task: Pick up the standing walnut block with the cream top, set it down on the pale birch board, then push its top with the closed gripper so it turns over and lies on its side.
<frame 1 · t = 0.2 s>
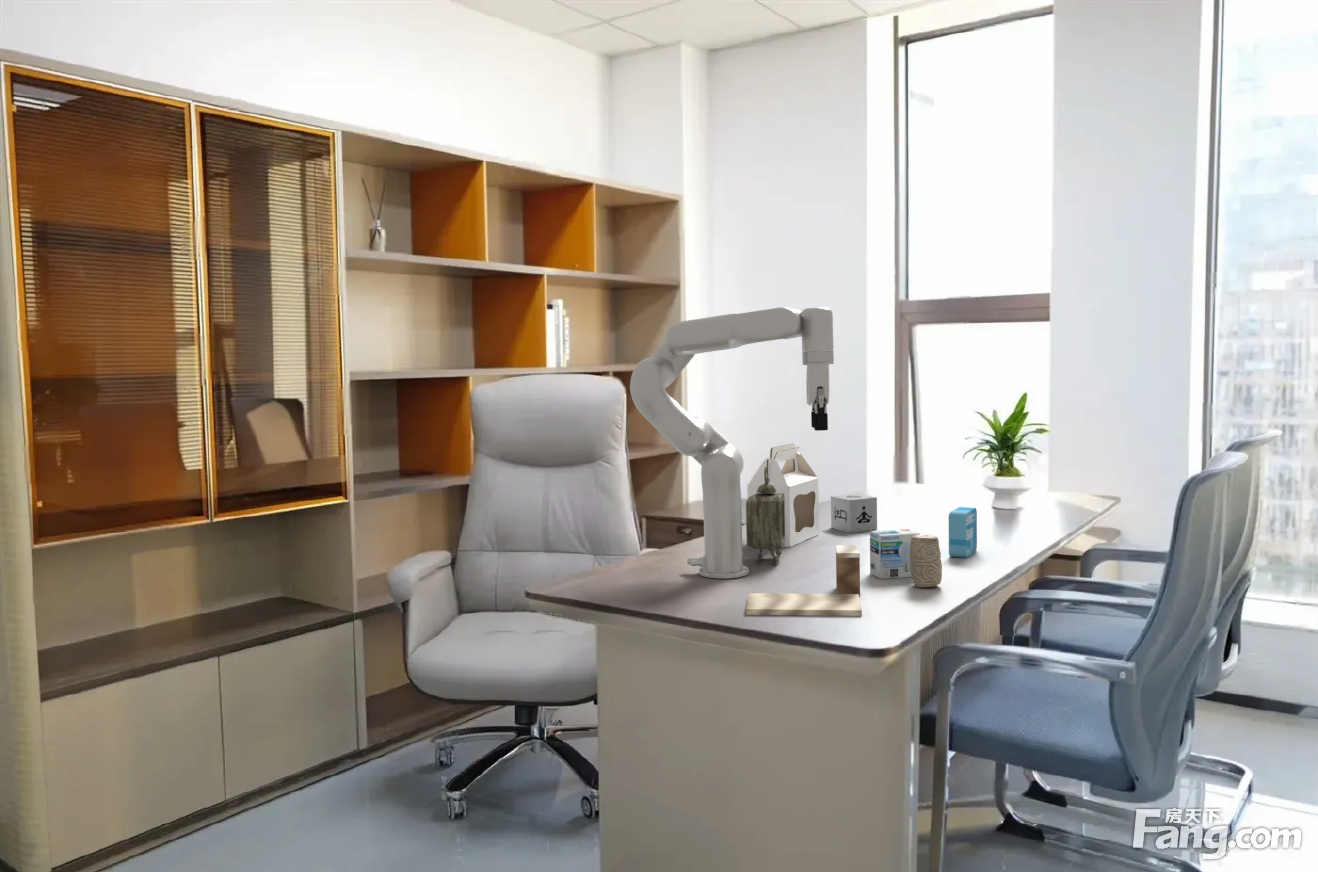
hand: (819, 428, 242), 36 cm above the table, tool pointing down, fingers open, 9 cm apart
light bulb box: (894, 576, 242), on the table
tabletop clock: (766, 560, 264), on the table
data package: (963, 554, 265), on the table
carving: (925, 587, 230), on the table
icon cube: (854, 529, 308), on the table
birch board: (803, 606, 214), on the table
gable box: (784, 540, 293), on the table
walnut block: (848, 592, 227), on the table
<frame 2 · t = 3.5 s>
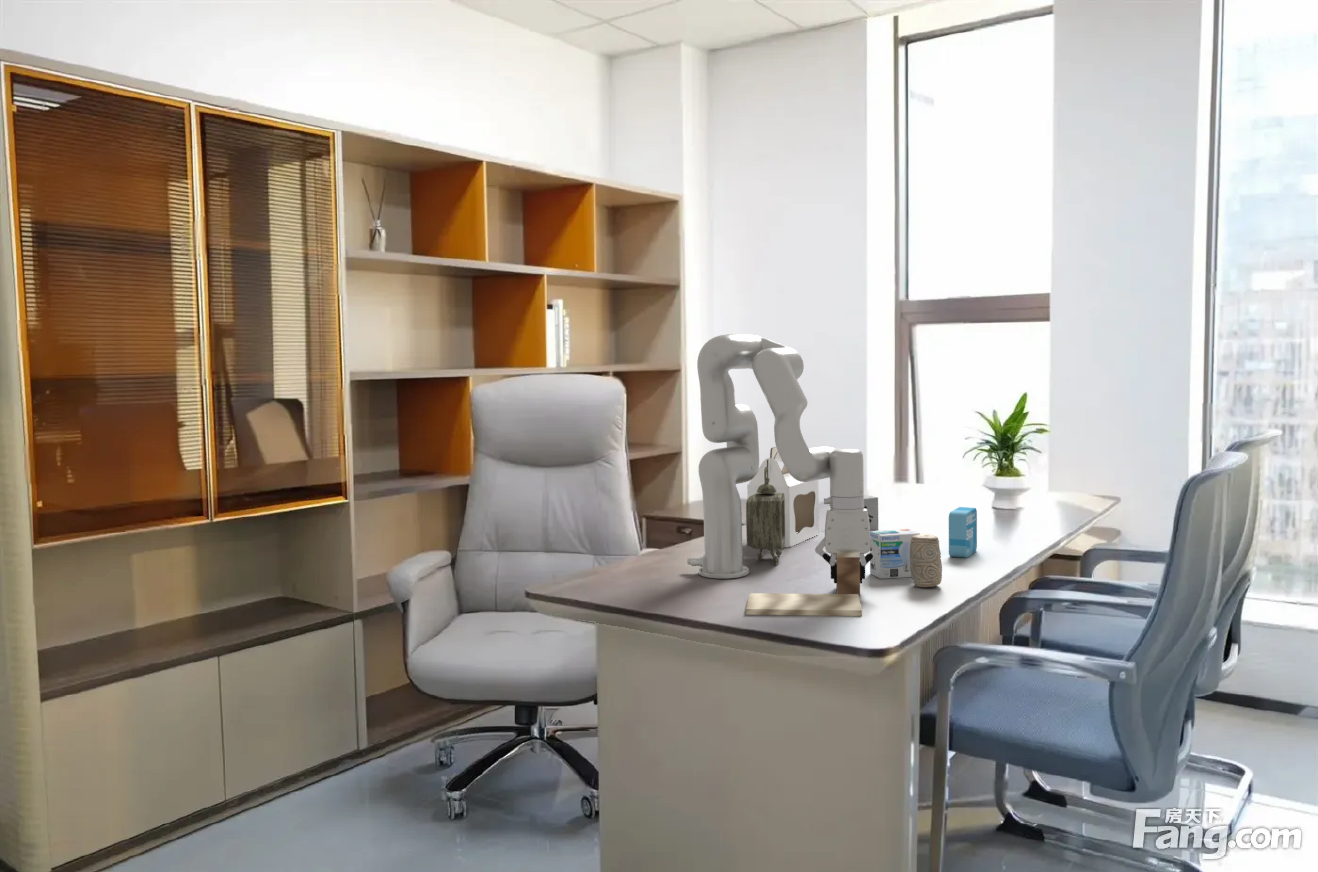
hand: (847, 581, 226), 2 cm above the table, tool pointing down, fingers closed on walnut block, 5 cm apart
walnut block: (848, 592, 227), on the table, touching gripper
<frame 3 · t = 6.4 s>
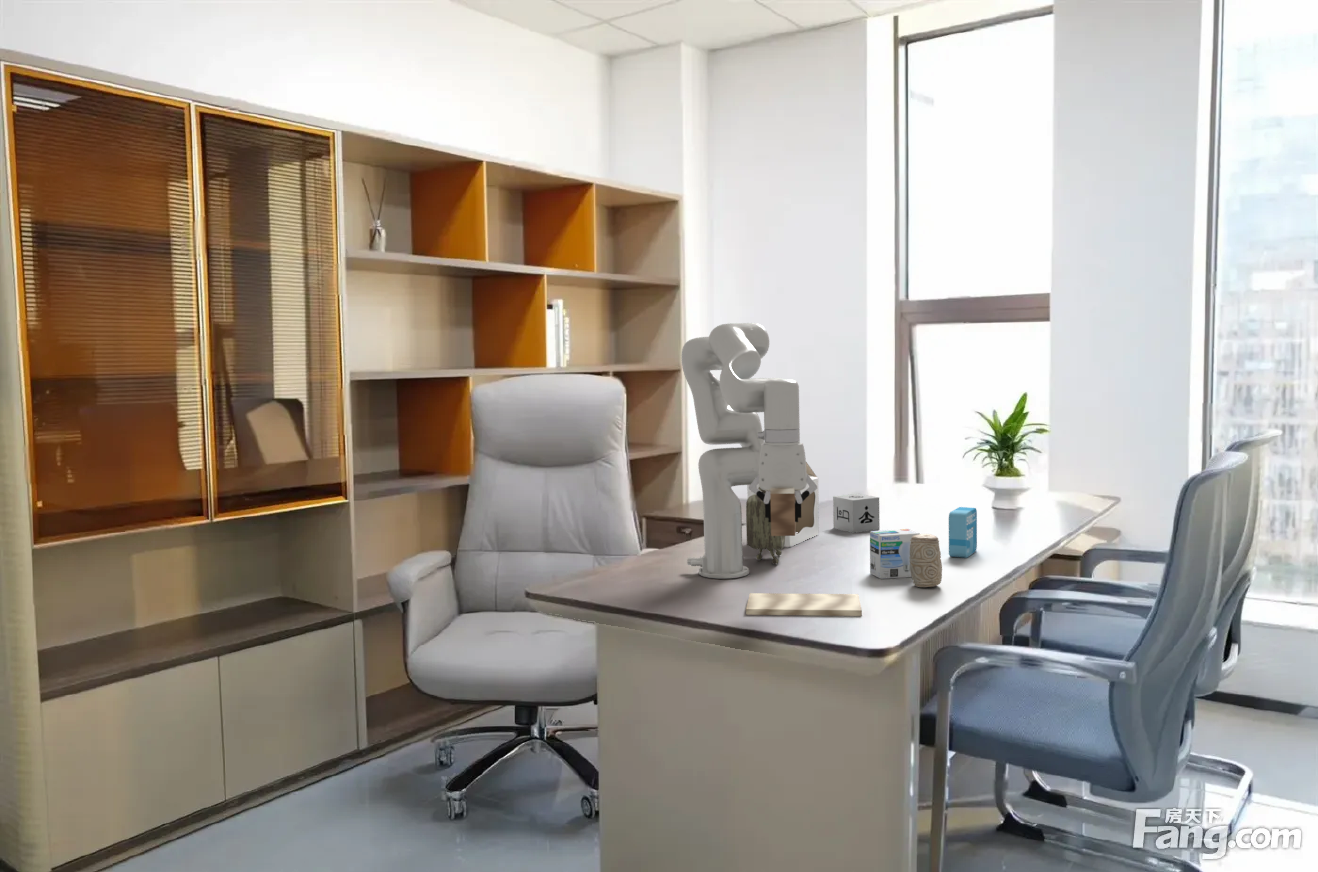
hand: (783, 520, 213), 19 cm above the table, tool pointing down, fingers closed on walnut block, 5 cm apart
walnut block: (783, 532, 214), point 16 cm above the table, touching gripper
when the fingers open (5 cm above the table, at t = 9.4 s): walnut block stays where it is, resting on birch board.
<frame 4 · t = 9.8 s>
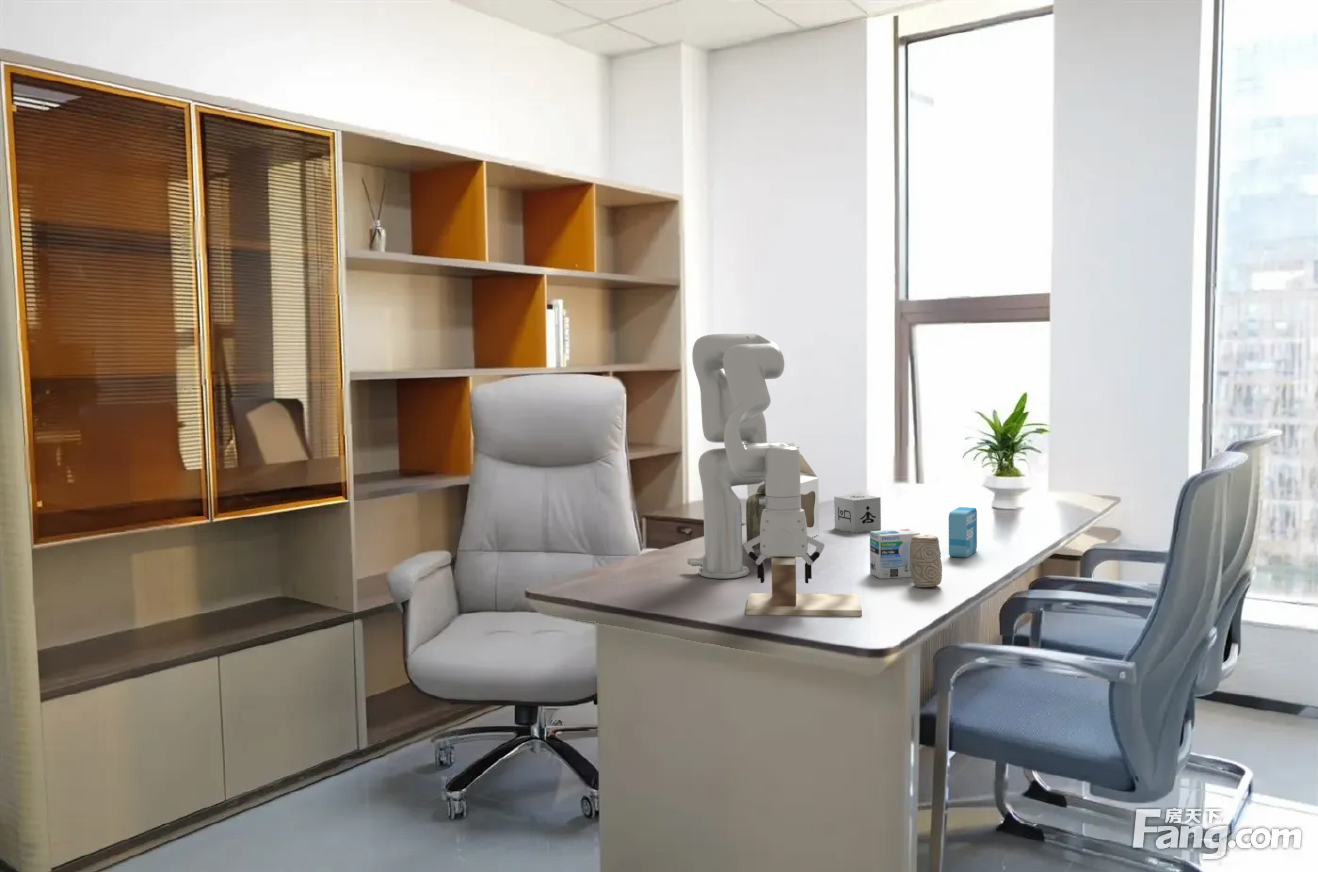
hand: (784, 581, 214), 5 cm above the table, tool pointing down, fingers open, 9 cm apart
walnut block: (784, 601, 215), point 1 cm above the table, touching birch board
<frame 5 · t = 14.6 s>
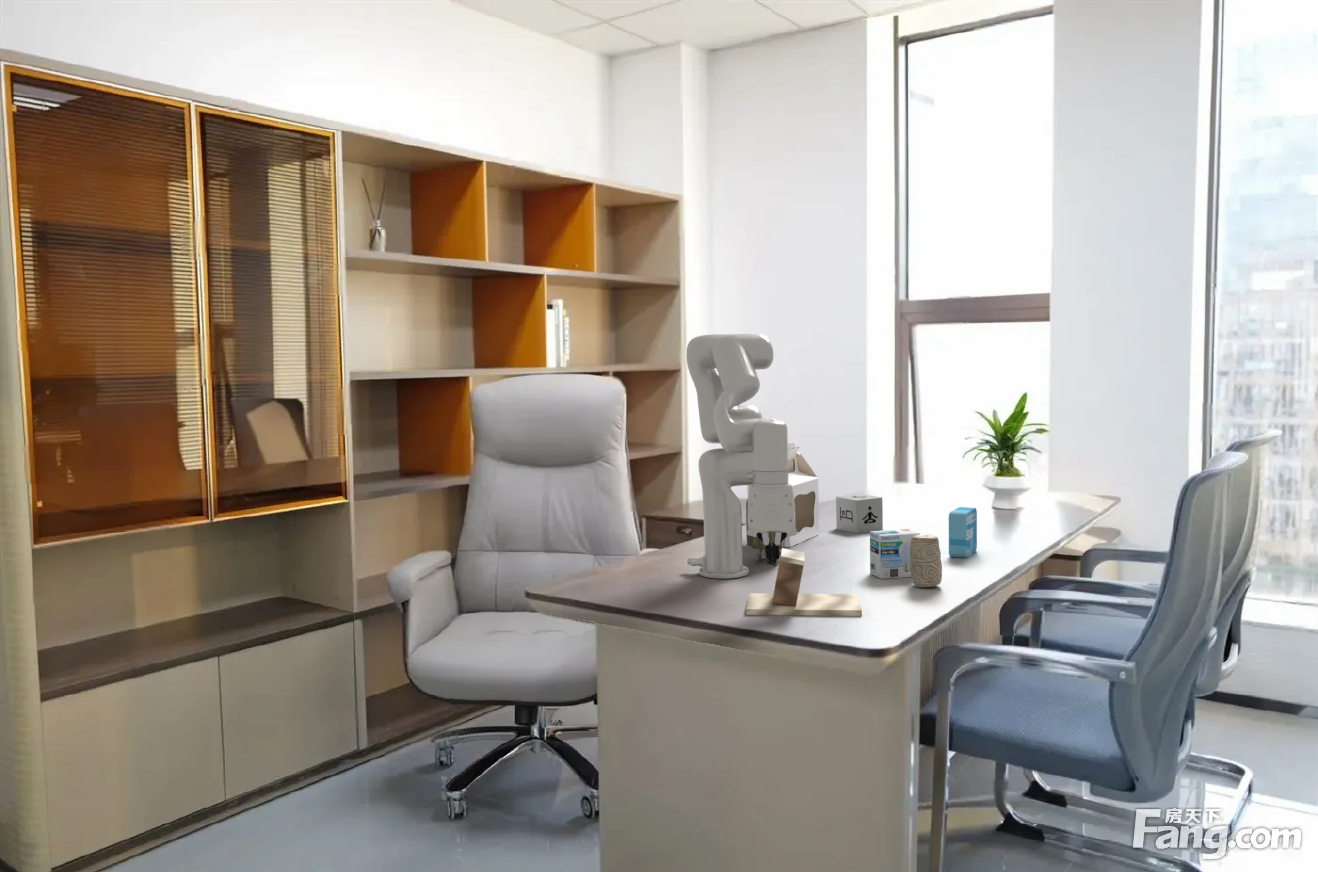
hand: (772, 562, 214), 10 cm above the table, tool pointing down, fingers closed
walnut block: (784, 599, 215), point 2 cm above the table, tilted 11°, touching birch board
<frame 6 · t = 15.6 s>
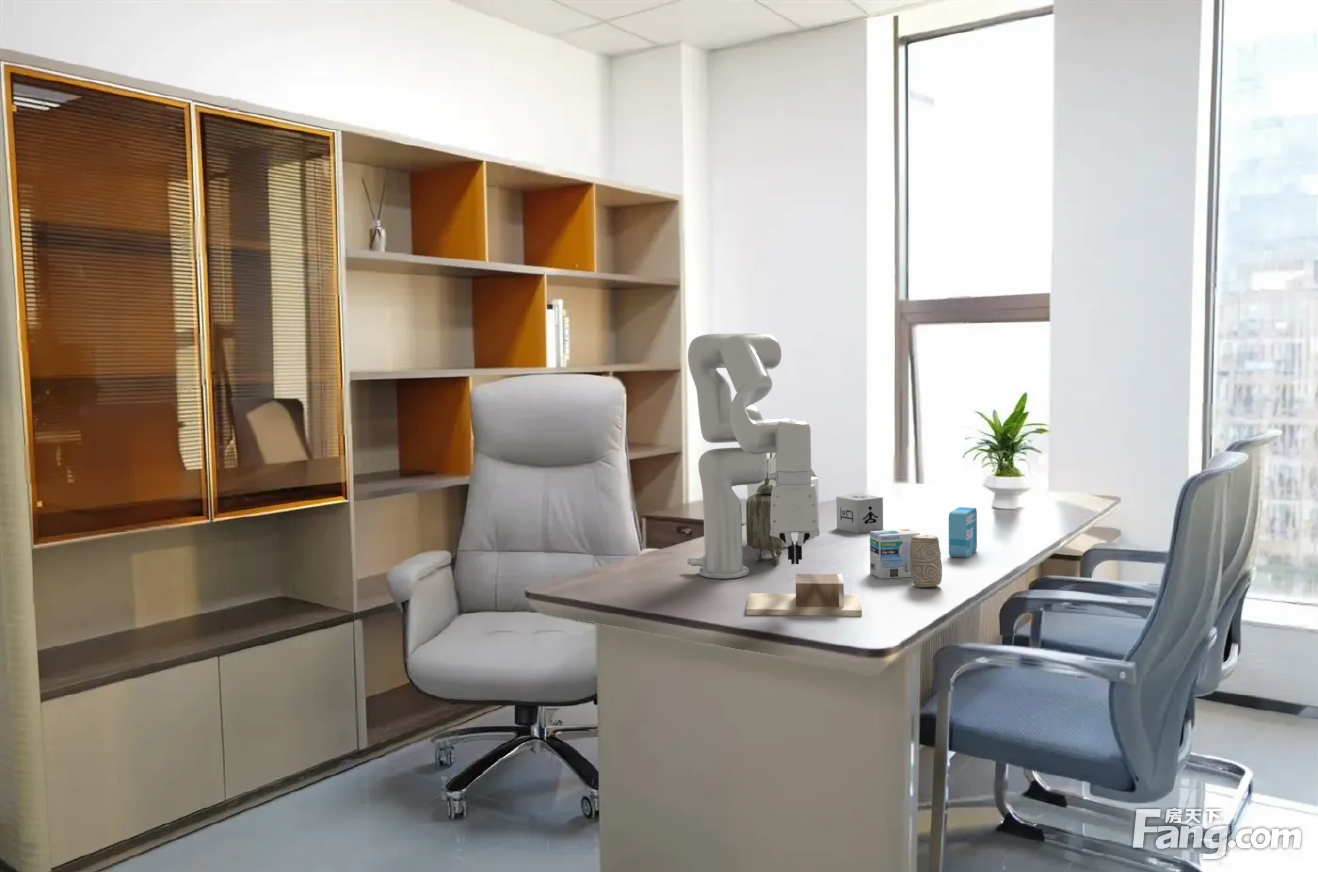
hand: (795, 562, 214), 10 cm above the table, tool pointing down, fingers closed
walnut block: (796, 589, 214), point 4 cm above the table, tilted 90°, touching birch board
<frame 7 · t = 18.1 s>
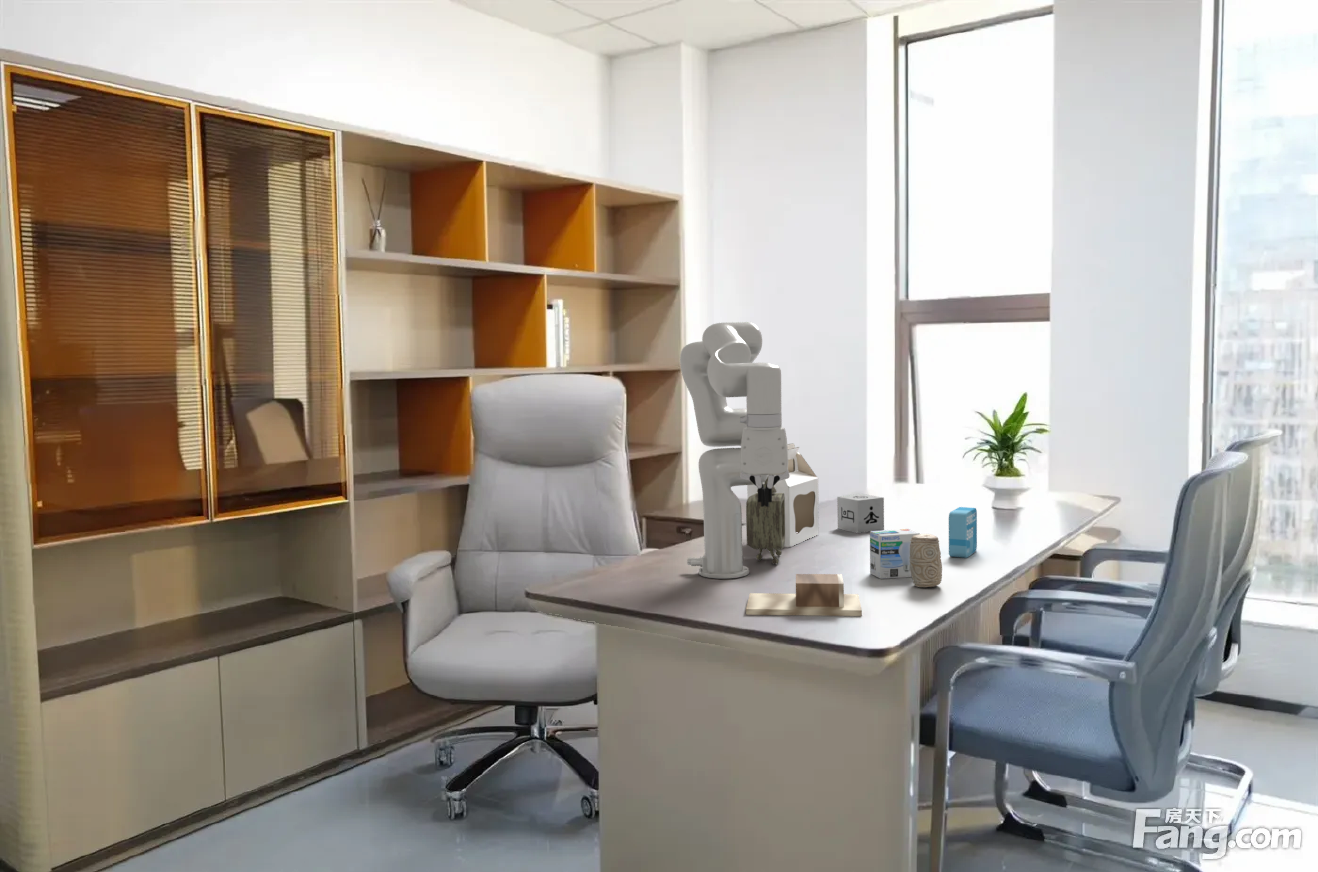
hand: (765, 505, 216), 22 cm above the table, tool pointing down, fingers closed
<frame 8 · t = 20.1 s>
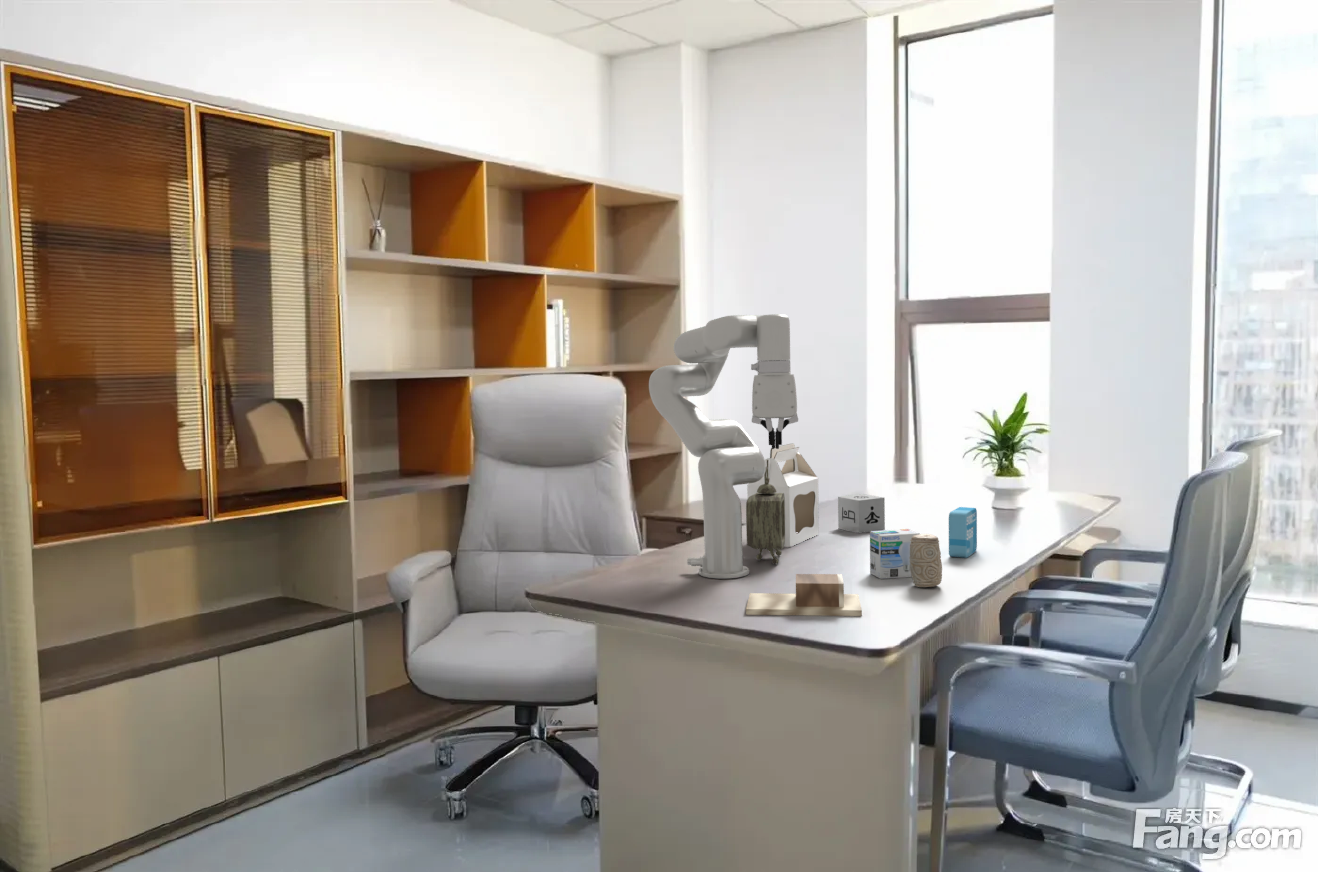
hand: (775, 448, 228), 33 cm above the table, tool pointing down, fingers closed
at the end: walnut block tilted 90°; walnut block inside the target area (3.6 cm from its centre), point 3.7 cm above the table; the gripper is holding nothing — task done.
